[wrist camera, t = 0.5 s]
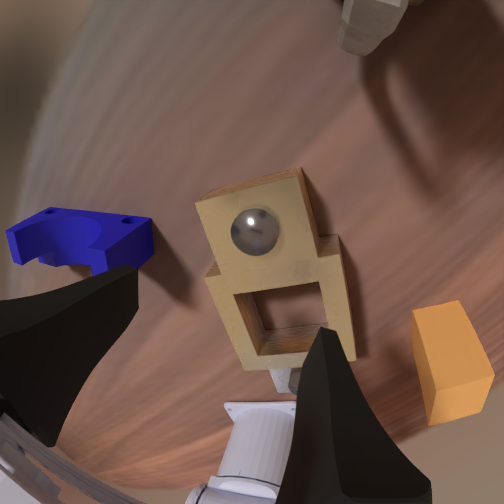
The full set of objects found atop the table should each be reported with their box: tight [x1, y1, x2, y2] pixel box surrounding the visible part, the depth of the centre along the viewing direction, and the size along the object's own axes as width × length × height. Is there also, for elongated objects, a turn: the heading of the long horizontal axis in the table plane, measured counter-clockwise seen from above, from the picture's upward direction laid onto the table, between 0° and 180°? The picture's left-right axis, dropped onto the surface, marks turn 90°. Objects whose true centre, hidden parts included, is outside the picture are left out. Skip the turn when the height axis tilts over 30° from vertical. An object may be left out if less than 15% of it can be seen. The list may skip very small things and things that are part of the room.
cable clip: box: [6, 207, 154, 276], centre depth 21 cm, size 12×4×6 cm, turn 87°
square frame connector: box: [195, 167, 356, 395], centre depth 20 cm, size 18×8×4 cm, turn 18°
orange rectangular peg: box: [412, 300, 495, 426], centre depth 17 cm, size 4×4×8 cm
